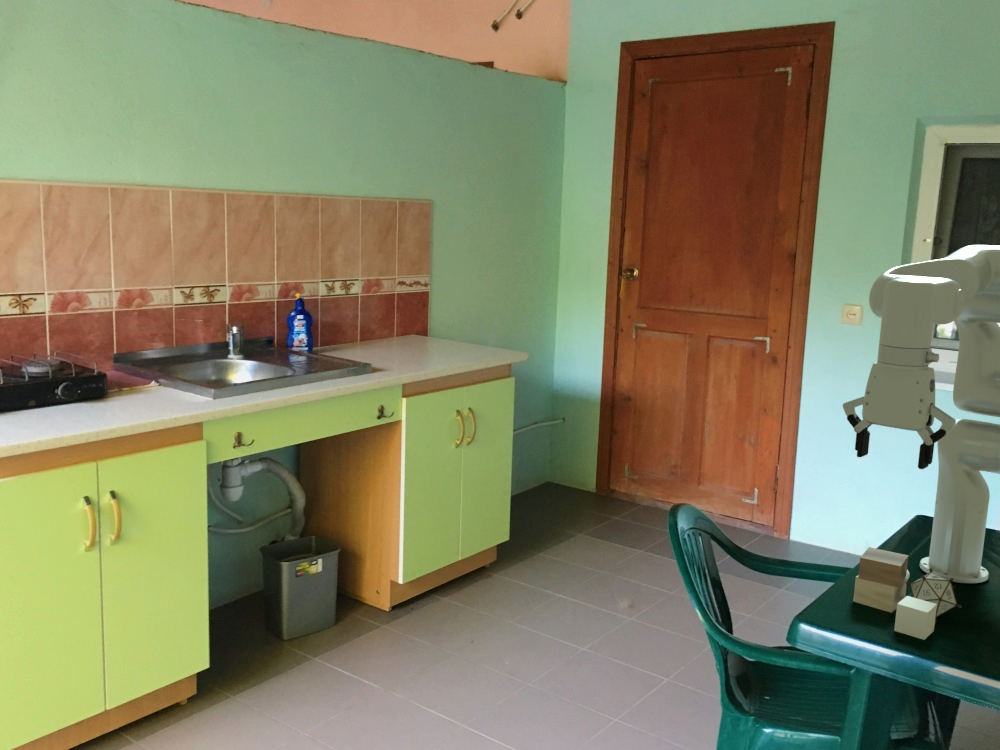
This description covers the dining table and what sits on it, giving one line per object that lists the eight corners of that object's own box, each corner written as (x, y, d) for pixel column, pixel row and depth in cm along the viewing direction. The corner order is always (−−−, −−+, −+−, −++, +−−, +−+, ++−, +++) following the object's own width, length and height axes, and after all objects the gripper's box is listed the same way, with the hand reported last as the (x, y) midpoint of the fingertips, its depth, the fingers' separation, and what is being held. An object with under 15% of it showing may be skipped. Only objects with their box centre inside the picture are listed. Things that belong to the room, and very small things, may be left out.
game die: (920, 630, 170) (916, 576, 174) (970, 627, 164) (964, 572, 169) (901, 617, 164) (897, 562, 169) (951, 614, 159) (945, 557, 163)
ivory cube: (904, 622, 164) (907, 595, 163) (933, 631, 161) (936, 604, 160) (894, 631, 160) (897, 603, 160) (924, 640, 157) (927, 612, 156)
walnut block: (866, 567, 177) (868, 547, 176) (906, 575, 173) (908, 555, 172) (858, 578, 171) (860, 557, 170) (898, 587, 167) (900, 566, 167)
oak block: (866, 591, 178) (869, 567, 177) (904, 602, 173) (907, 577, 172) (853, 602, 172) (855, 576, 172) (891, 613, 168) (894, 587, 167)
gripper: (968, 361, 145) (955, 468, 147) (857, 348, 156) (848, 448, 159) (954, 366, 139) (941, 476, 142) (840, 352, 150) (830, 455, 153)
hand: (892, 461), depth 150 cm, fingers open, 9 cm apart
